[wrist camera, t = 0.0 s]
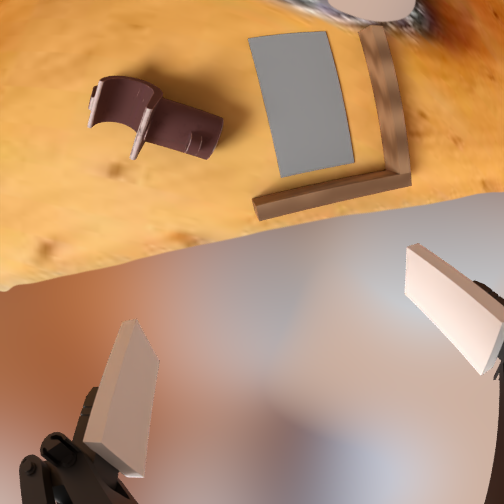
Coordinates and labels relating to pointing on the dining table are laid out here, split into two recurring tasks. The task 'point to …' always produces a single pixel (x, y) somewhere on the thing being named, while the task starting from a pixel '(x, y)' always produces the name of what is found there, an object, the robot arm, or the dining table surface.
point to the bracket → (154, 116)
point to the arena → (391, 140)
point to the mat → (302, 101)
